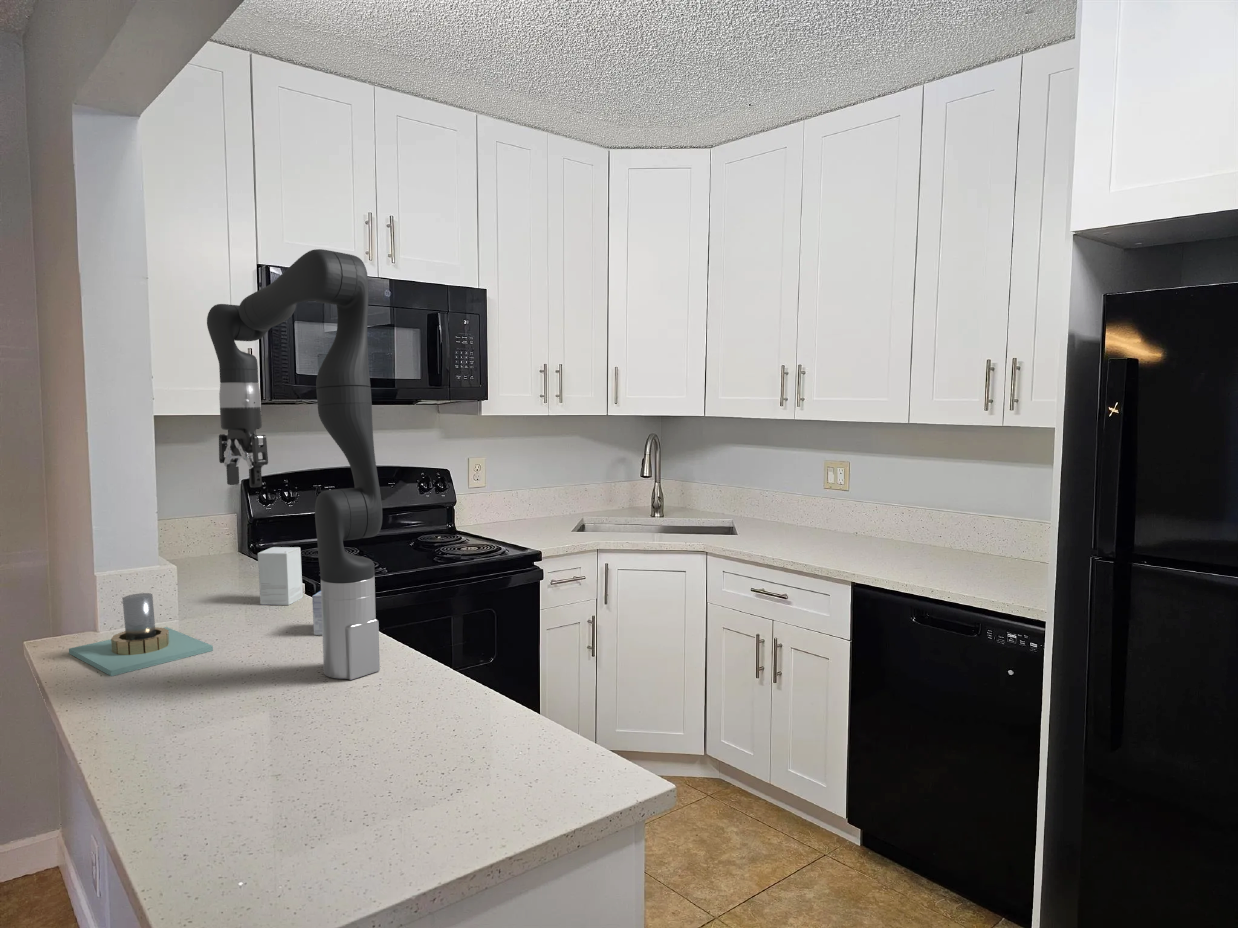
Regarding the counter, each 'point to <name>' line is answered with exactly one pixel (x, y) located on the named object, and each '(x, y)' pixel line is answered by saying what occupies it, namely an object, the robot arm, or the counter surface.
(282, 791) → the counter surface
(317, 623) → the medicine box
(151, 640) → the ring collar
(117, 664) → the ring mat
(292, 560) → the supplement box
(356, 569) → the robot arm
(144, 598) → the cylinder
